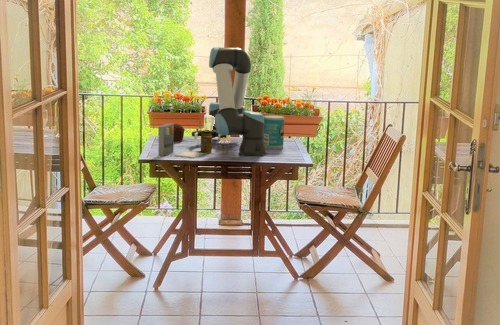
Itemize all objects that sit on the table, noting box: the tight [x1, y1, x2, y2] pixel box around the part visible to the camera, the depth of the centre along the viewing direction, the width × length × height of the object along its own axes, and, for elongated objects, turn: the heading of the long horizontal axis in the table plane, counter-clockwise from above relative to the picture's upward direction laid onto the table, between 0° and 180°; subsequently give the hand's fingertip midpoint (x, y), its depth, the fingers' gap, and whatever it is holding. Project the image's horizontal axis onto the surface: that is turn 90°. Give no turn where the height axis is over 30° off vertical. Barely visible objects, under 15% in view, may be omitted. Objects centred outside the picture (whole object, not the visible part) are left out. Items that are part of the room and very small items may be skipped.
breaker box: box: [158, 122, 175, 157], centre depth 391 cm, size 4×12×16 cm, turn 160°
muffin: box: [173, 123, 186, 143], centre depth 433 cm, size 12×11×10 cm
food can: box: [263, 114, 285, 150], centre depth 420 cm, size 12×12×18 cm
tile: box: [175, 150, 203, 159], centre depth 392 cm, size 11×11×1 cm
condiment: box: [195, 129, 215, 155], centre depth 400 cm, size 7×8×12 cm
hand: (207, 137), depth 409 cm, fingers open, 13 cm apart
